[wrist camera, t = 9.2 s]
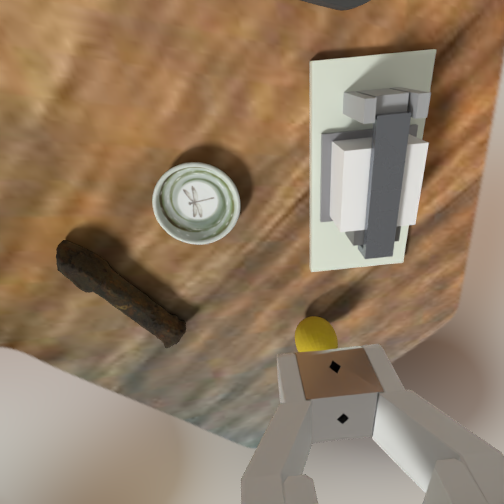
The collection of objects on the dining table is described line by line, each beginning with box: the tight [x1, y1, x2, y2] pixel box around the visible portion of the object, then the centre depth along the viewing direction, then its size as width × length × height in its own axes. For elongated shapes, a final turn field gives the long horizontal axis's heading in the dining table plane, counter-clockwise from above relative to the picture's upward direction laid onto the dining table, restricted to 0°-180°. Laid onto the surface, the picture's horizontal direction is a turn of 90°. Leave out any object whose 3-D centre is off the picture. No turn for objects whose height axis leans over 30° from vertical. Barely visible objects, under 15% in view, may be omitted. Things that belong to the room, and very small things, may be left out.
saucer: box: [152, 162, 241, 245], centre depth 39 cm, size 10×10×2 cm
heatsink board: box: [310, 49, 436, 272], centre depth 37 cm, size 24×12×7 cm, turn 5°
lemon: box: [295, 316, 338, 352], centre depth 47 cm, size 6×6×8 cm
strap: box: [358, 111, 412, 259], centre depth 35 cm, size 14×3×2 cm, turn 5°
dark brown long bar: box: [56, 240, 186, 348], centre depth 44 cm, size 19×4×5 cm, turn 38°
